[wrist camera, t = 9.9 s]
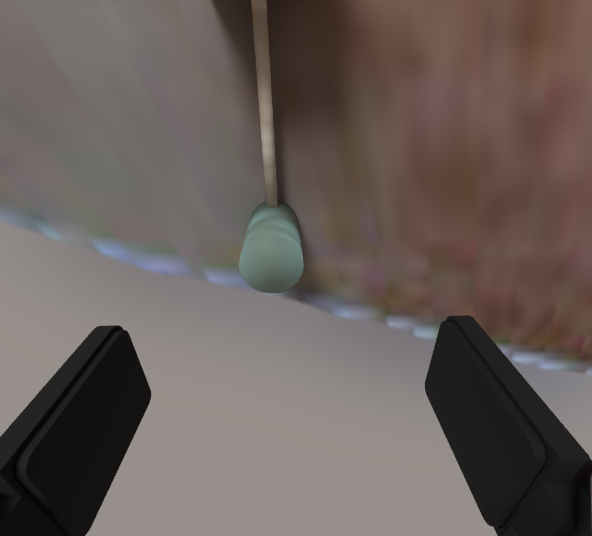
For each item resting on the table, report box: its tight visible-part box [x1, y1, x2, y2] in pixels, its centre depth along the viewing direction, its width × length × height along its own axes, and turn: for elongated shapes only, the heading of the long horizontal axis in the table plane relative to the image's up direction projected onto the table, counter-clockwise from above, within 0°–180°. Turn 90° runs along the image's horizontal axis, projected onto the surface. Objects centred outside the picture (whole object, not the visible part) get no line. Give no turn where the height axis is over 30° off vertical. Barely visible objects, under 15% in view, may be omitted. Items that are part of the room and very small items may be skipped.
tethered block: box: [239, 0, 304, 293], centre depth 14 cm, size 5×19×6 cm, turn 2°
